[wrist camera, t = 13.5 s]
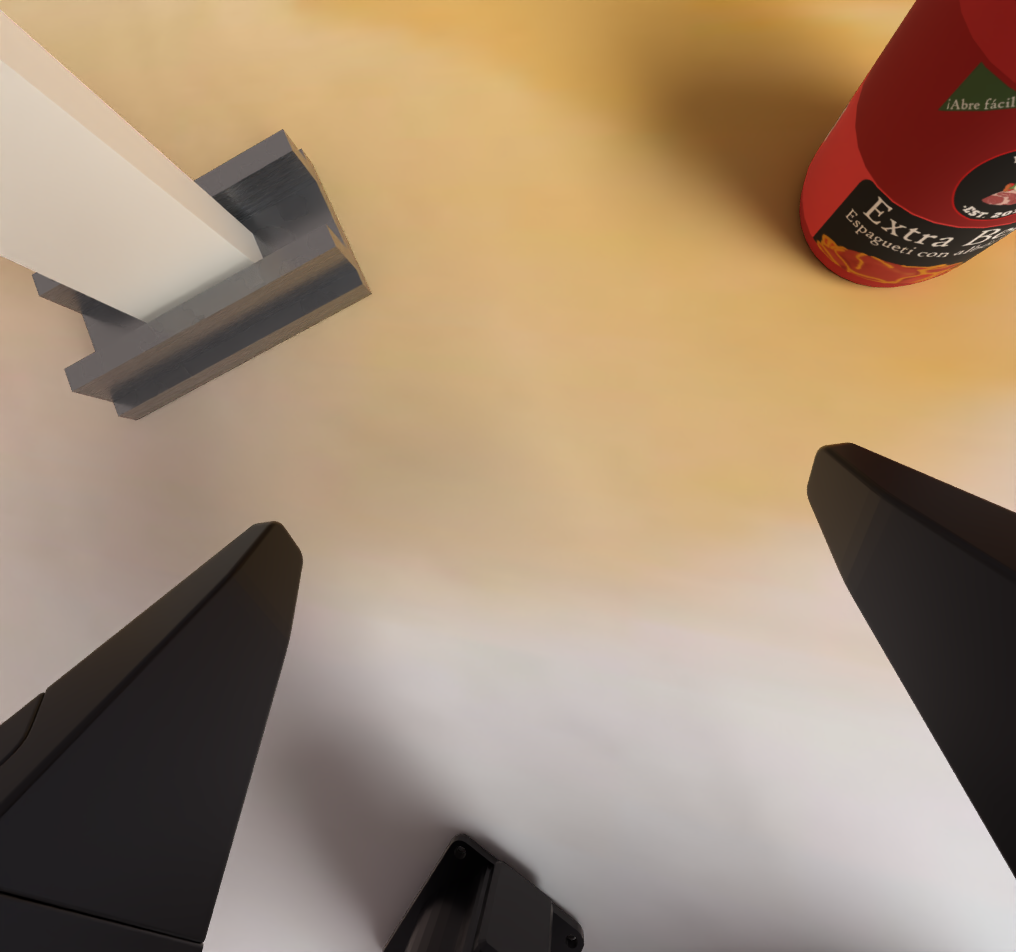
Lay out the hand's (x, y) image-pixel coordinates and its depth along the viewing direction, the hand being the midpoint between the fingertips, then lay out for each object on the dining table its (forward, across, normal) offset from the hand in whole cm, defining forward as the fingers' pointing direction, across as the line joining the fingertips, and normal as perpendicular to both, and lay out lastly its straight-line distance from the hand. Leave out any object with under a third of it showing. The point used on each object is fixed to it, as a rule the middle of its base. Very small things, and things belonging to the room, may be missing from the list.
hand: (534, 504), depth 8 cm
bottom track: (+19, +16, 0) cm, 25 cm away
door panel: (+18, +16, -1) cm, 24 cm away
